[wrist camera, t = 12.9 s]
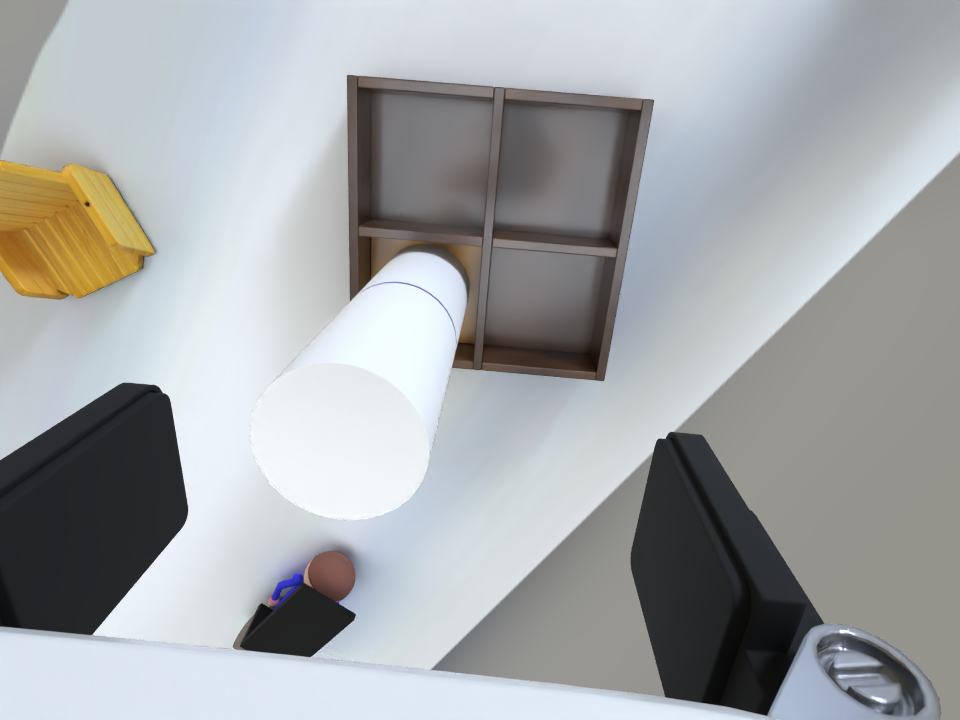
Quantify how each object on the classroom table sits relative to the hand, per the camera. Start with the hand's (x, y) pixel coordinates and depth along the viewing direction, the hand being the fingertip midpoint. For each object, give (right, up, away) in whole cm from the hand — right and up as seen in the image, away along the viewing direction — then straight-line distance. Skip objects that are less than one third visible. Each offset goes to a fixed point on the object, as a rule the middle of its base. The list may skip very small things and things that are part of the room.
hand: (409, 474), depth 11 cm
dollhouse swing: (-32, +13, +35) cm, 49 cm away
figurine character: (-17, -22, +48) cm, 56 cm away
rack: (+2, +12, +33) cm, 35 cm away
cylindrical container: (-3, +8, +34) cm, 36 cm away
